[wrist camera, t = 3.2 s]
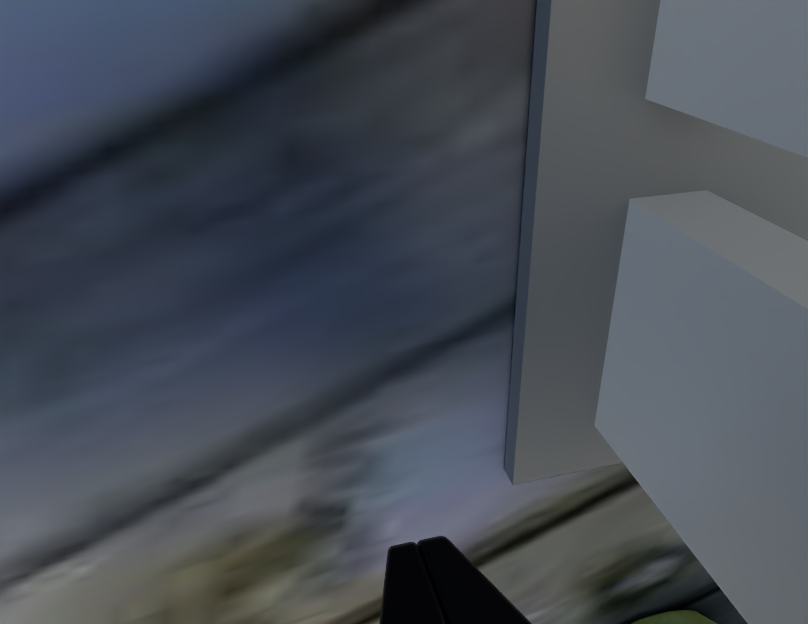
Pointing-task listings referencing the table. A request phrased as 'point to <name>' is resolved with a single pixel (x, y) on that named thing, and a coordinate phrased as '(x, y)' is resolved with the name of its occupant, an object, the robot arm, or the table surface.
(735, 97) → the tile
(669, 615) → the plant pot
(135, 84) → the table surface
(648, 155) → the slate mat
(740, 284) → the tile
